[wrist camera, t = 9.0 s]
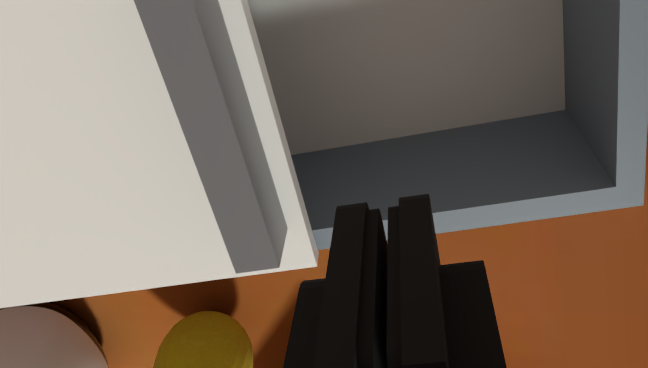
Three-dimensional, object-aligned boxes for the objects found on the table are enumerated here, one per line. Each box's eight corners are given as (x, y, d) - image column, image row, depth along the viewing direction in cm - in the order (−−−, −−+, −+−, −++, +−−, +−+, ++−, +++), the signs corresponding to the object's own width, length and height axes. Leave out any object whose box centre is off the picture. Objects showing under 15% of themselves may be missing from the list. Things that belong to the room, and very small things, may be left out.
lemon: (276, 305, 38) (254, 414, 31) (242, 360, 40) (215, 471, 33) (193, 270, 37) (151, 374, 30) (164, 329, 39) (119, 437, 32)
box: (577, -283, 22) (669, -329, 15) (581, 116, 30) (643, 205, 23) (32, -136, 26) (-91, -119, 19) (163, 184, 34) (110, 278, 27)
